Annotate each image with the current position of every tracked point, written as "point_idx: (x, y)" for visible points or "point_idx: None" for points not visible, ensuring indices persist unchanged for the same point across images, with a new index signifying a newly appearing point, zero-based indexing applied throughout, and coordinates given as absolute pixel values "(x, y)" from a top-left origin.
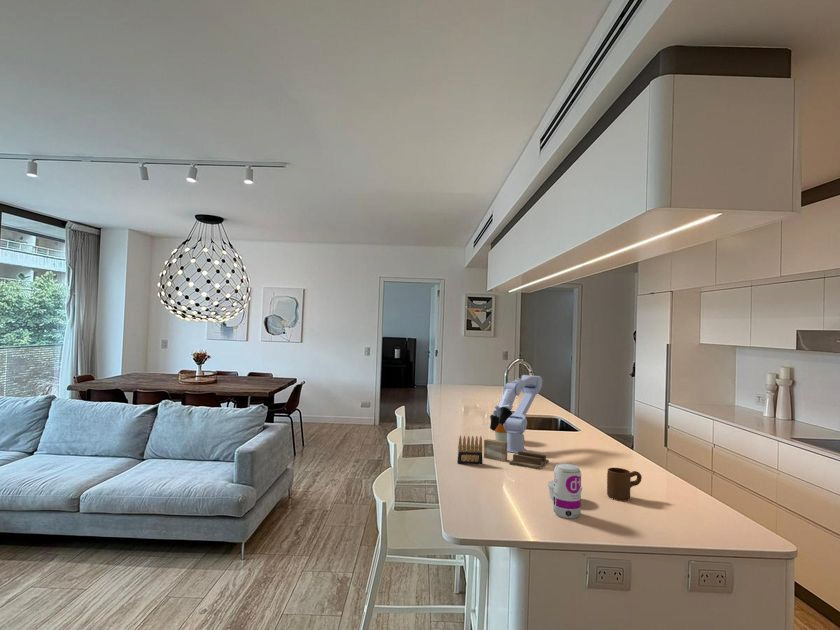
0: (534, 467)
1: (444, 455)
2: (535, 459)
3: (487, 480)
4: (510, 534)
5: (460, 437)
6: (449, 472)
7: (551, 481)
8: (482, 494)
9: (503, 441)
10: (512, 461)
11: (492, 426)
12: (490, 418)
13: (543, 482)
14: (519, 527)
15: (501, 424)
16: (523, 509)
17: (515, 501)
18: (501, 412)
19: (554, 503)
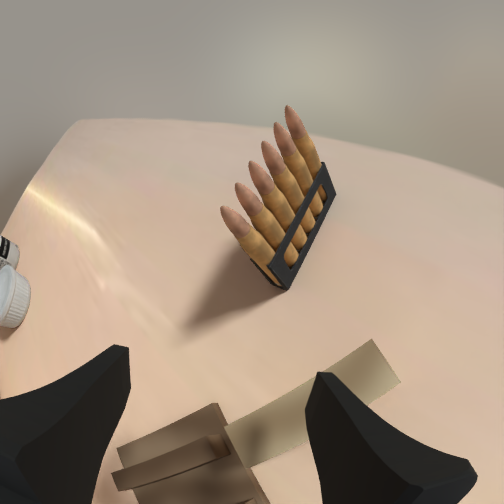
0: (131, 443)
1: (460, 184)
2: (126, 468)
3: (136, 215)
4: (40, 172)
5: (285, 113)
6: (241, 141)
7: (9, 283)
8: (100, 175)
9: (272, 456)
10: (212, 422)
11: (321, 402)
12: (441, 452)
13: (61, 348)
14: (37, 186)
15: (126, 378)
16: (44, 214)
17: (57, 217)
18: (37, 399)
19: (8, 240)
